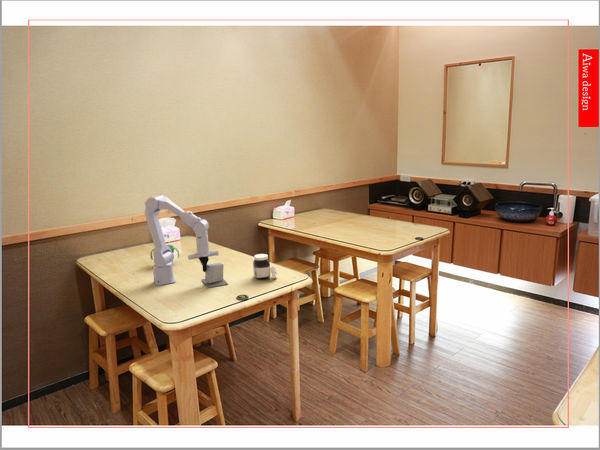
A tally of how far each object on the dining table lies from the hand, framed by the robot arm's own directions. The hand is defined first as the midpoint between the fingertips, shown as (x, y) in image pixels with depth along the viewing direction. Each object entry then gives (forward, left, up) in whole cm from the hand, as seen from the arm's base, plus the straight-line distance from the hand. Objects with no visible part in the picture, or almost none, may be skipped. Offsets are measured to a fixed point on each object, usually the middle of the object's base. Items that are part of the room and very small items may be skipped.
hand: (204, 271), depth 218 cm
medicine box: (+4, -1, -6) cm, 7 cm away
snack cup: (-12, +44, -7) cm, 46 cm away
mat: (+4, 0, -7) cm, 8 cm away
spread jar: (+29, -7, -7) cm, 31 cm away
